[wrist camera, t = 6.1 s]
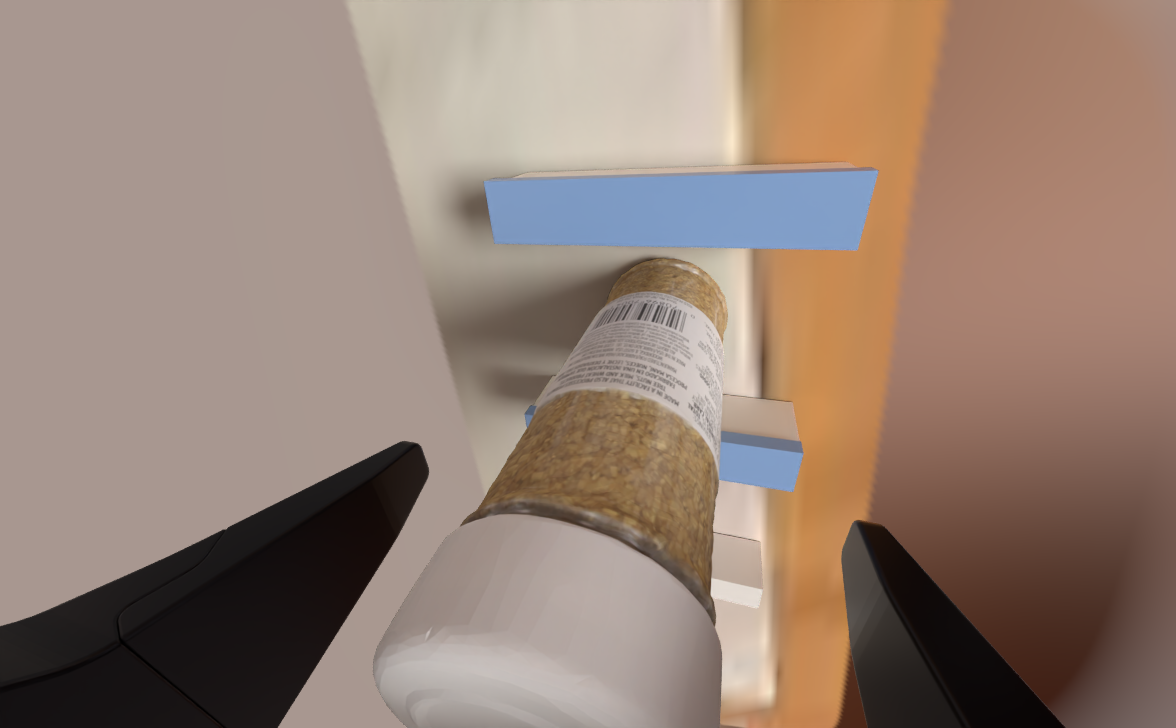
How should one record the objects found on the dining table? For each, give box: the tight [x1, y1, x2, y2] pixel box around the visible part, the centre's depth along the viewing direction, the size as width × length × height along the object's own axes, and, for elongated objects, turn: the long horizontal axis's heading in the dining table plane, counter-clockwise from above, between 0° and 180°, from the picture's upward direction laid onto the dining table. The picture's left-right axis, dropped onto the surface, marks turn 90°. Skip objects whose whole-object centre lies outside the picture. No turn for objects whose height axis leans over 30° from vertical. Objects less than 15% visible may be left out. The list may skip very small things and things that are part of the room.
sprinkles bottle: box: [373, 258, 728, 728], centre depth 11 cm, size 5×5×14 cm
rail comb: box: [484, 162, 878, 609], centre depth 17 cm, size 19×10×3 cm, turn 4°
